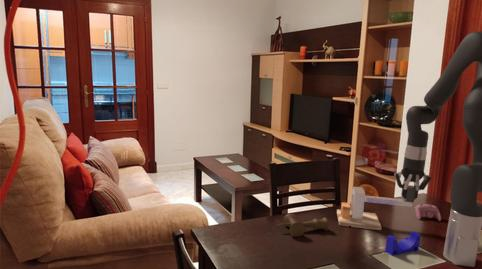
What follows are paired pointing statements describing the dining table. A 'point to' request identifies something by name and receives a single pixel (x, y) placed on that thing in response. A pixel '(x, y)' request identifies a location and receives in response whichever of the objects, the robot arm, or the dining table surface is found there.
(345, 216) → the block
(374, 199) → the shaft
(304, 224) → the kendama
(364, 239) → the dining table surface
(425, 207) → the video game controller
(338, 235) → the dining table surface
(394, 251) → the cable clip
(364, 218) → the stand
